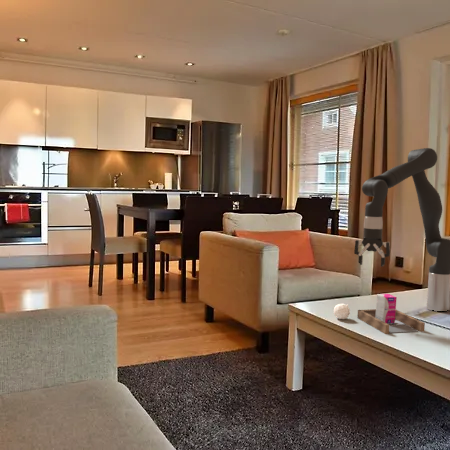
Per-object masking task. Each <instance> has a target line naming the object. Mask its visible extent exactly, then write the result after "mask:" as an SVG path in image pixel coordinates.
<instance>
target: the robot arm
mask: <svg viewBox="0 0 450 450" xmlns="http://www.w3.org/2000/svg"><path fill="white" fill-rule="evenodd" d="M437 162H438V154H437V152H436V150H435V149H433V148H430V147H423V148H417V149H412V150H410V151H409V152H408V155H407V162H404V163H401V164H398V165H396V166H393V167H392V168H389V169H388V170H386V171H384V172H383V173H382V174H378V175H376V176H373V177H370V178H368V179H367V180H365V181H364V182H363V184H362V186H361V191H362V193H363V195H365V196H367V197H372V200H371V201H369V202H366V204H365V207H364V208H365V209H364V220H363V238H362V240H360V239H356V240H355V241H354V251H353V253H354V255H357V256H358V264H359V265H360V266H361V265H363V261H364V260H363V256H364V255H363V254H364V253H366V251H367V252H377V253H378V255H380V256H381V258H380V267H384V266H385V265H386V258H389V257H390V256H391V242H390V241H385V242H384V241H383V224H384V220H383V214H384V213H383V210H384V208H383V207H384V206H385V205H384V204H385V202H386V199H387V196H388V191H389V189H391V188H393V187H395V186H397V185H398V184H400V183H402V182H403V181H406V180H407V179H408V178H410V177H412V180H413V183H414V188H415V193H416V195H417V201H418V207H419V210H420V215H421V218H422V224H423V228H424V238H425V245H426V252H427V253H428V255H430V256H431V257H433V258H435V263H434V264H431V265H430V266H429V267H428V278H427V279H428V283H427V295H426V296H427V298H426V299H427V300H426V309H427V310H428V311H432V310H434V311H433V312H437V311H447V310H450V239H448V238H443V237H442V236H441V231H440V221H441V218H442V215H443V204H442V199H441V196H440V193H439V192H438V191H437V189H436V188H435V187H434V186H433V184H432V183H431V182H430V181H429V179H428V177H427V174H426V171H427V170H429V169H431V168H433V167H434V166H435V165H436V164H437ZM361 244H362V246H363V248H362V249H361V250H360V251H359V247H360V246H361ZM382 246H384V248H385V252H384V251H383V249H382ZM447 312H448V311H447Z"/></svg>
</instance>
